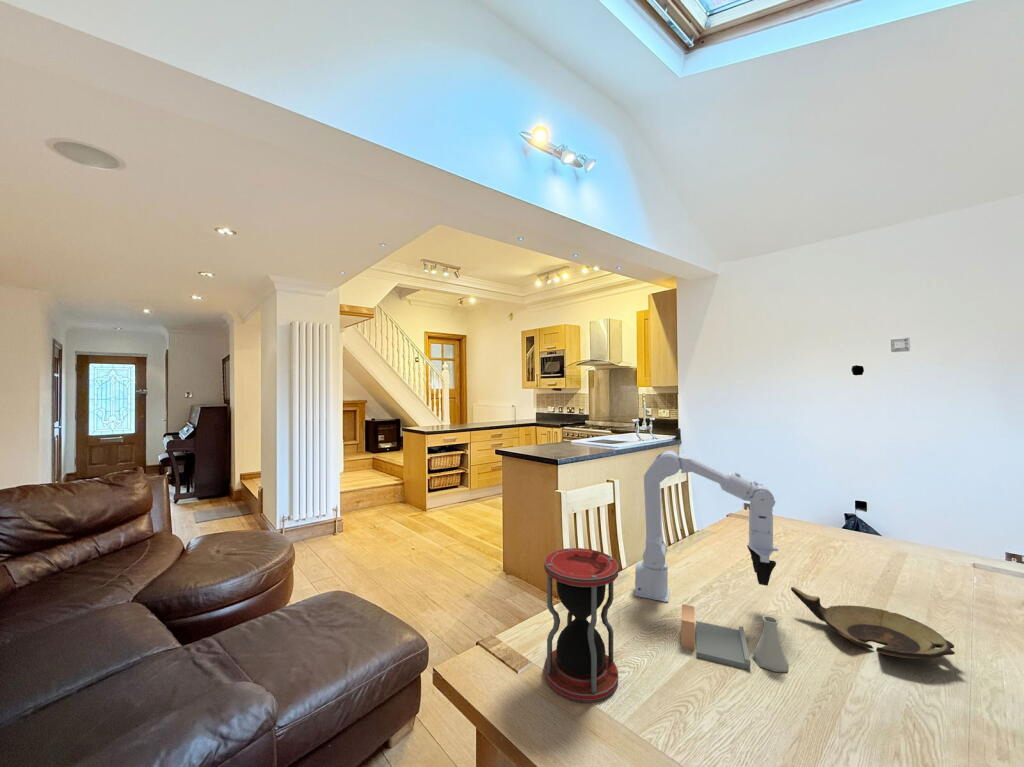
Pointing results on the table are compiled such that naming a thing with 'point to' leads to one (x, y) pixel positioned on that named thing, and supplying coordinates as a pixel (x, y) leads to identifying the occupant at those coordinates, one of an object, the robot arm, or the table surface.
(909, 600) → the table surface
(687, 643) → the slab
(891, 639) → the oil lamp
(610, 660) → the hourglass
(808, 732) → the table surface
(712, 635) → the grey tray
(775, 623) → the flask
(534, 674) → the table surface
